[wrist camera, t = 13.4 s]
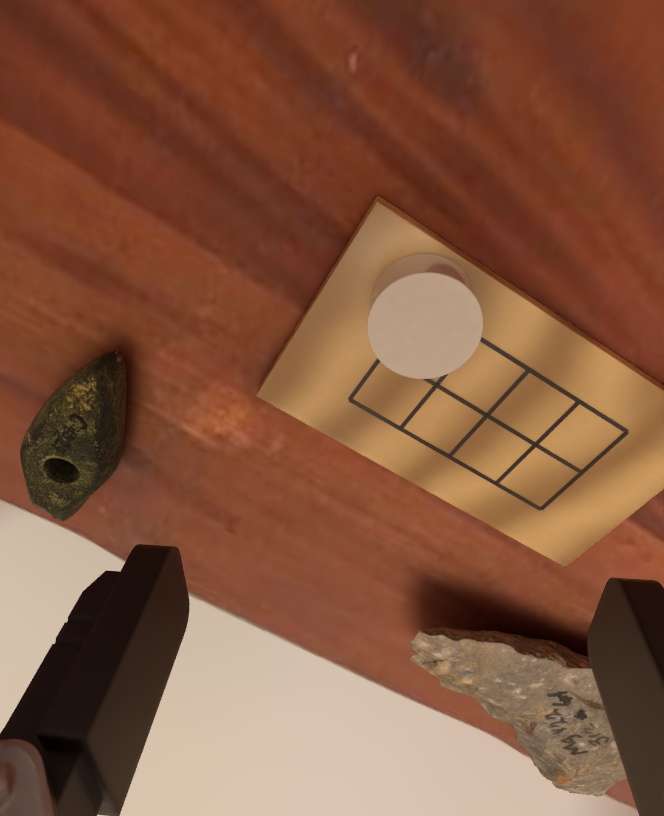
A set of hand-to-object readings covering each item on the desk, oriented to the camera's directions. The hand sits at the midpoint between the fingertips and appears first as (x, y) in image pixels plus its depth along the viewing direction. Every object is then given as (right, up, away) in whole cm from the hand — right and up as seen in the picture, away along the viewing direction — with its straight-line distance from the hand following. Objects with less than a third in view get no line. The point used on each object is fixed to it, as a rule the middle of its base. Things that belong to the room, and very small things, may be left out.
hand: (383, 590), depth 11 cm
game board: (+7, +4, +18) cm, 19 cm away
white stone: (+3, +8, +14) cm, 16 cm away
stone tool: (+13, -14, +28) cm, 34 cm away
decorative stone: (-16, +1, +17) cm, 23 cm away
